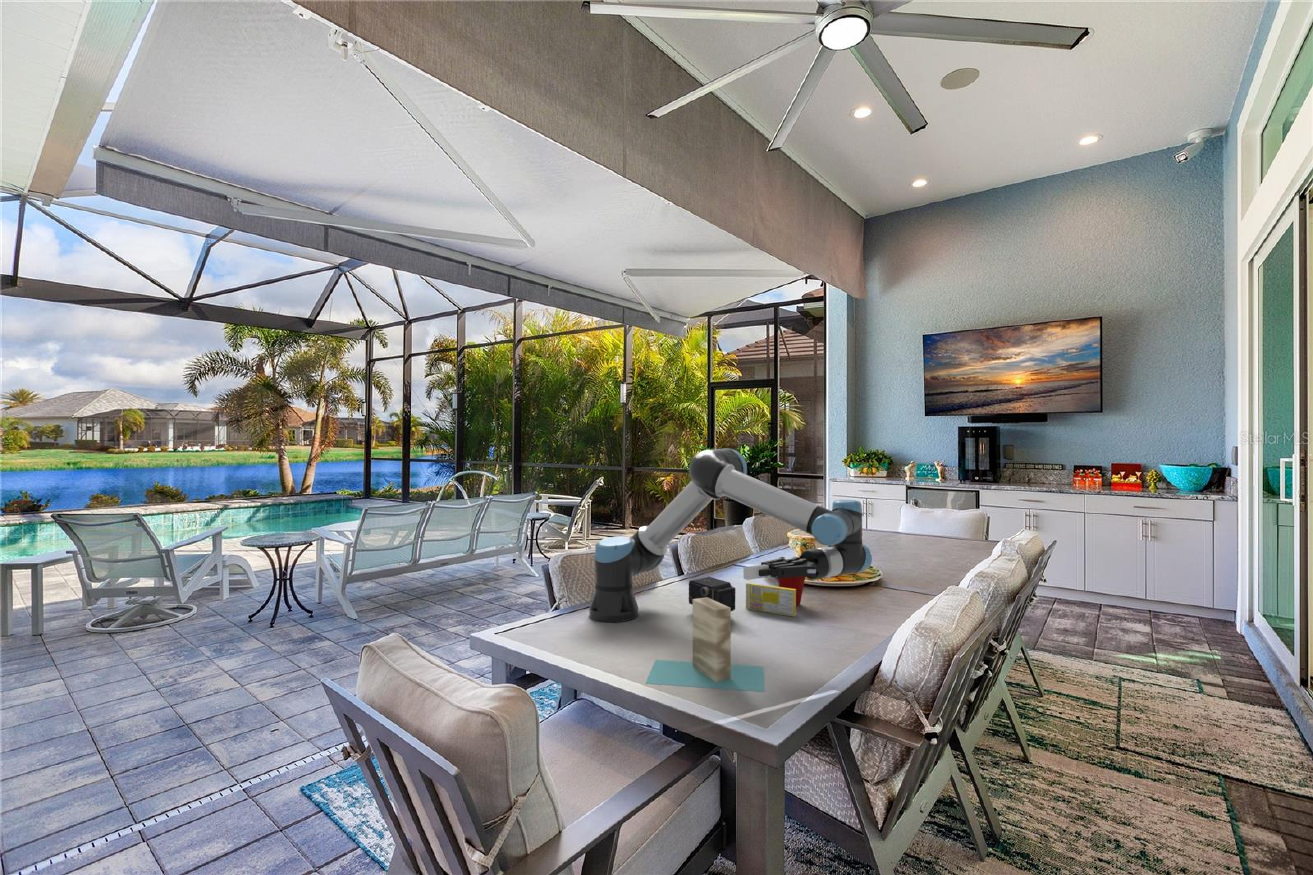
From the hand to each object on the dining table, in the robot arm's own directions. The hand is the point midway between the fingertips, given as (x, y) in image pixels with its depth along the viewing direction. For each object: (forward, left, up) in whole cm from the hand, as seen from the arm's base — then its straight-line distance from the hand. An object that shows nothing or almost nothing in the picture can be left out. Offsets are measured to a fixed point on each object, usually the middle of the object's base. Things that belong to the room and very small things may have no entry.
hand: (745, 573), depth 141 cm
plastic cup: (+14, +55, -23) cm, 62 cm away
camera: (-11, +39, -23) cm, 47 cm away
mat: (-9, -7, -23) cm, 25 cm away
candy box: (+7, +46, -23) cm, 52 cm away
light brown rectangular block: (-8, -6, -22) cm, 24 cm away
